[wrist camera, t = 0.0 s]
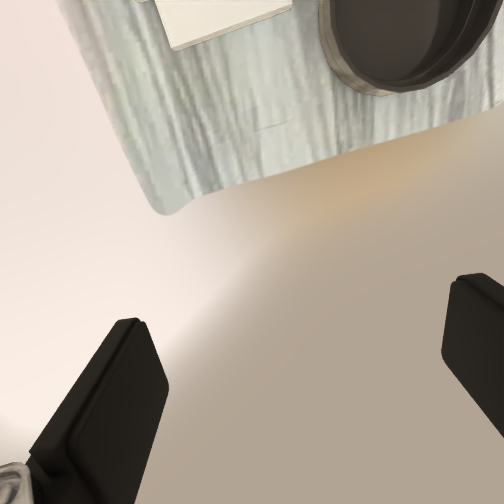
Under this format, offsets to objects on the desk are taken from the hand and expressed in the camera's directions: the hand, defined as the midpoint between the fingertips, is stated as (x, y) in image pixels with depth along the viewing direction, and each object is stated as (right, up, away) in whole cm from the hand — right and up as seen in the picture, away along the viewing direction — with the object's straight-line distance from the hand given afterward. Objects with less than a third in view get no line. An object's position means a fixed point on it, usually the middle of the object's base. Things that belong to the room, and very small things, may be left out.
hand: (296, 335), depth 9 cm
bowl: (+13, +28, +22) cm, 38 cm away
